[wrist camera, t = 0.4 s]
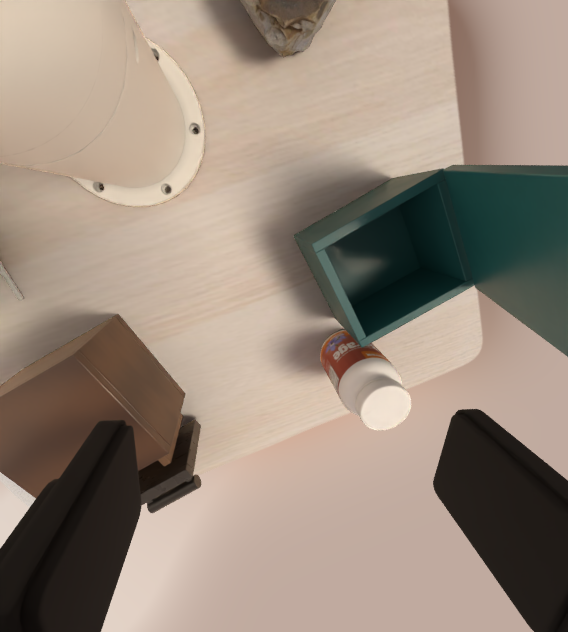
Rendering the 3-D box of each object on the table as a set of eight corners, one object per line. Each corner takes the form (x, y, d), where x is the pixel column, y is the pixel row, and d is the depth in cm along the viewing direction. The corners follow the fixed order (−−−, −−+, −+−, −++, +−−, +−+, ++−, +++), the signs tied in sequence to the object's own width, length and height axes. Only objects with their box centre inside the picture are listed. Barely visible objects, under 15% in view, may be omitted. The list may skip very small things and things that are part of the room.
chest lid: (594, 377, 15) (708, 345, 14) (571, 176, 11) (726, 105, 10) (475, 288, 26) (532, 265, 25) (442, 170, 22) (508, 136, 21)
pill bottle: (365, 322, 35) (419, 370, 25) (370, 366, 37) (421, 427, 27) (314, 334, 35) (348, 388, 24) (322, 378, 37) (356, 445, 26)
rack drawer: (220, 447, 37) (216, 501, 30) (148, 487, 37) (129, 549, 30) (144, 359, 31) (119, 401, 25) (61, 406, 32) (14, 460, 25)
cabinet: (185, 393, 35) (169, 453, 26) (101, 441, 35) (58, 515, 27) (118, 313, 30) (73, 354, 22) (23, 368, 31) (-58, 430, 22)
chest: (335, 318, 34) (362, 348, 27) (293, 235, 30) (311, 244, 23) (424, 268, 34) (476, 284, 27) (393, 177, 30) (444, 168, 23)
